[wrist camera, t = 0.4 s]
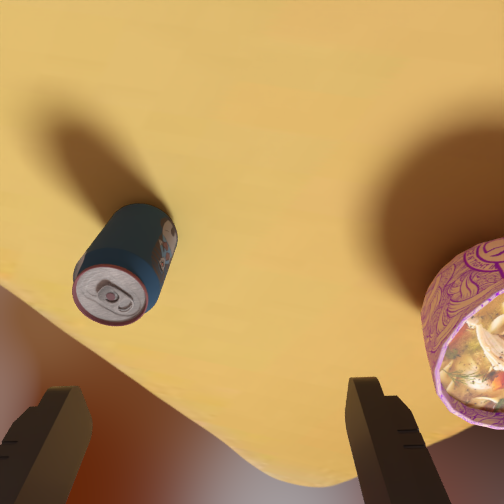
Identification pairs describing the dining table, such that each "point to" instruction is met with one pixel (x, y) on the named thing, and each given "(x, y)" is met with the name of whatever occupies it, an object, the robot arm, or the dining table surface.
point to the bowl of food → (468, 334)
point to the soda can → (125, 266)
